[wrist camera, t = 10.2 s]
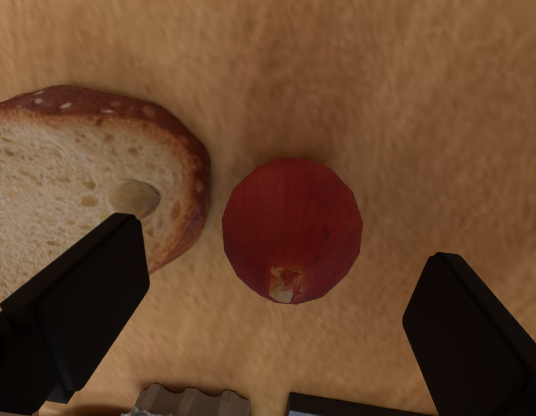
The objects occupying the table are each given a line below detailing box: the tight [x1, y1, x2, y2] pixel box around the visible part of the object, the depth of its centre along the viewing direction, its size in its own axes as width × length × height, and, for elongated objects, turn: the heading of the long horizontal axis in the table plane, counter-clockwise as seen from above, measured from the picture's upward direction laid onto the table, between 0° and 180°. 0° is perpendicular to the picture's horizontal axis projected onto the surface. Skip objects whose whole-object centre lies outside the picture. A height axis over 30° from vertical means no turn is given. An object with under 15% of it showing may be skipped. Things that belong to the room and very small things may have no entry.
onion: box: [222, 158, 363, 304], centre depth 12 cm, size 6×6×8 cm
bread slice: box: [0, 85, 210, 312], centre depth 16 cm, size 18×18×4 cm
